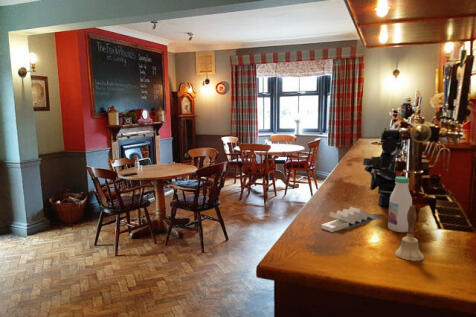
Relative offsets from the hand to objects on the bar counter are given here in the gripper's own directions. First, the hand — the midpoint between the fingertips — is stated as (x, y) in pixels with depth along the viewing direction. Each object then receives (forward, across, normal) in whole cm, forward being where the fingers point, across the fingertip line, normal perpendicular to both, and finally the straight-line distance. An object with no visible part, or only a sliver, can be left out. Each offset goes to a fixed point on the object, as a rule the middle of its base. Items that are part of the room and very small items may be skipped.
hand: (371, 189), depth 152 cm
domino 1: (+16, +13, -8) cm, 22 cm away
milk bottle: (+11, +20, +7) cm, 24 cm away
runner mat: (+15, +10, -4) cm, 18 cm away
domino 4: (+12, +8, -3) cm, 15 cm away
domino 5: (+11, +6, 0) cm, 12 cm away
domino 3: (+14, +10, -5) cm, 18 cm away
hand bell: (+17, +43, 0) cm, 46 cm away
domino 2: (+17, +15, -11) cm, 25 cm away
